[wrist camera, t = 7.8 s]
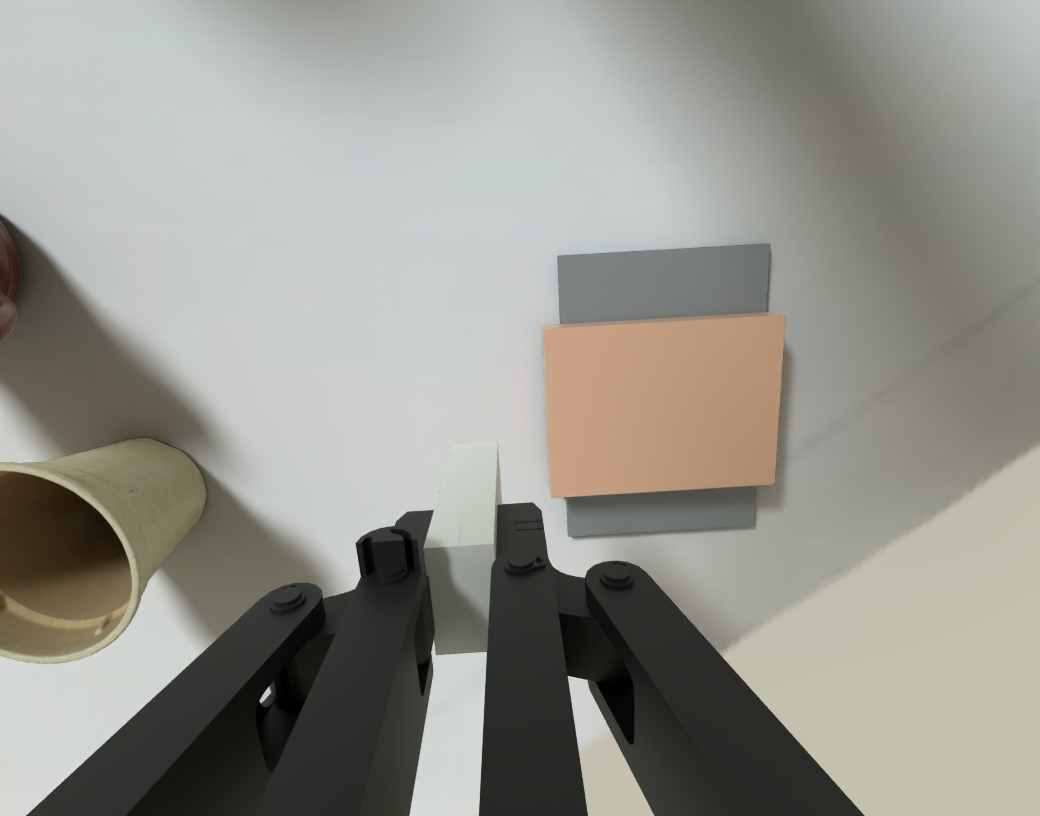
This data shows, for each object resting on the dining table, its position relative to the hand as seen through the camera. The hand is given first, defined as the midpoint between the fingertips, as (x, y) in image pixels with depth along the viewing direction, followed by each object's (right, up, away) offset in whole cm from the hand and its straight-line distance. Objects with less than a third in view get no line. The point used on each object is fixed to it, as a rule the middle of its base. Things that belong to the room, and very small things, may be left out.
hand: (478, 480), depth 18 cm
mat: (+9, +3, +12) cm, 16 cm away
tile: (+3, +2, +11) cm, 11 cm away
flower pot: (-20, -2, +13) cm, 24 cm away
